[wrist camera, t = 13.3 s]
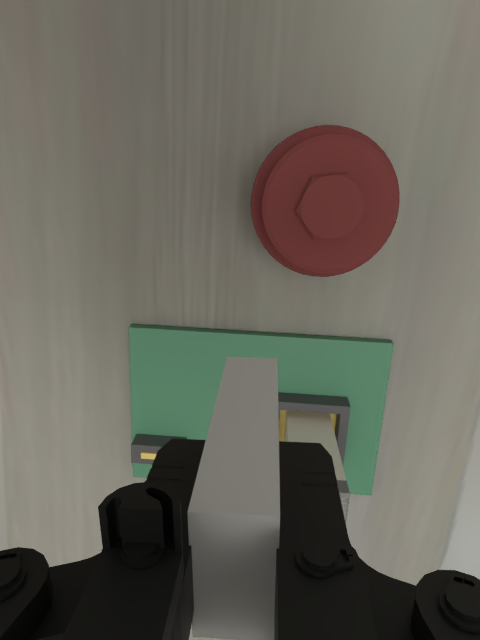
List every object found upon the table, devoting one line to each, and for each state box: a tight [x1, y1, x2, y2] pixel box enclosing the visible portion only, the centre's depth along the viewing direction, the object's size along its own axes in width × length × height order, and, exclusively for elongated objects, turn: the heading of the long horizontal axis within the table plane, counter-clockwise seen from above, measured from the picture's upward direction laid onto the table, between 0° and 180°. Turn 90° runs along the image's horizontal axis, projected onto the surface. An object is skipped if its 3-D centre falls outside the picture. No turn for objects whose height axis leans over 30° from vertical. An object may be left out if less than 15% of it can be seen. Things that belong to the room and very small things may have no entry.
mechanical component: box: [251, 125, 399, 277], centre depth 33 cm, size 12×10×10 cm
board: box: [129, 324, 393, 495], centre depth 43 cm, size 16×24×3 cm, turn 87°
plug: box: [284, 411, 350, 524], centre depth 38 cm, size 4×4×12 cm
